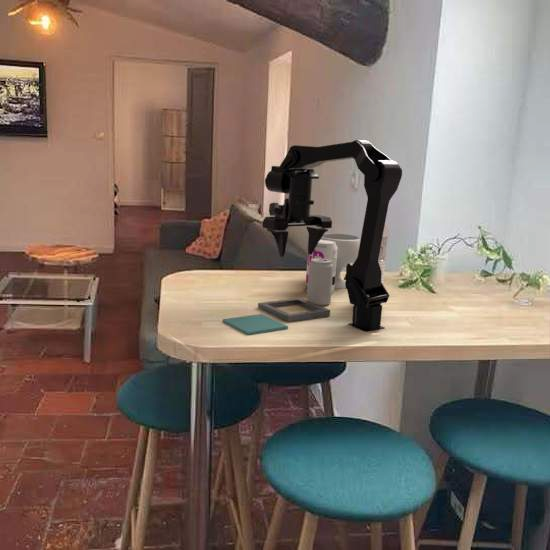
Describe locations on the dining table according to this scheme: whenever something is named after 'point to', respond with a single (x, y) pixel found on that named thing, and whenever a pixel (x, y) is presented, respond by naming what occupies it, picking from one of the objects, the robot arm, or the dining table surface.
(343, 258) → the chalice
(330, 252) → the supplement can
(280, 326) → the teal mat
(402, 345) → the dining table surface
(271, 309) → the gray square frame
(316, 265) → the beverage can
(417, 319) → the dining table surface
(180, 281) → the dining table surface
